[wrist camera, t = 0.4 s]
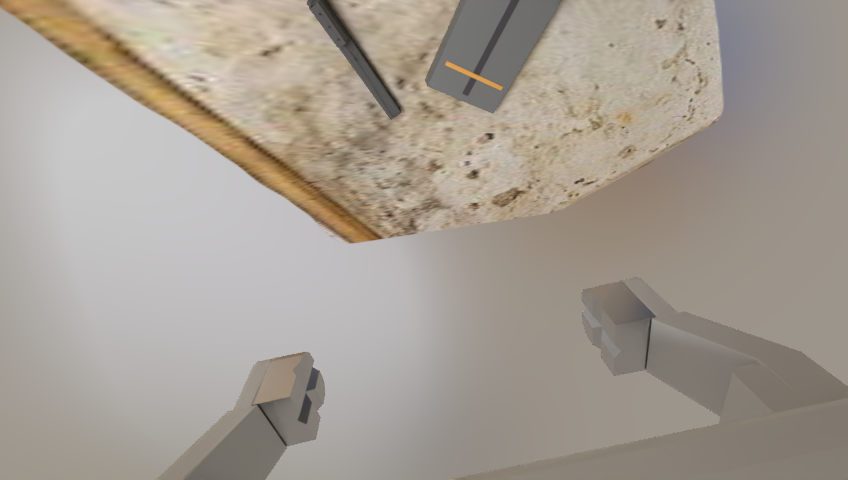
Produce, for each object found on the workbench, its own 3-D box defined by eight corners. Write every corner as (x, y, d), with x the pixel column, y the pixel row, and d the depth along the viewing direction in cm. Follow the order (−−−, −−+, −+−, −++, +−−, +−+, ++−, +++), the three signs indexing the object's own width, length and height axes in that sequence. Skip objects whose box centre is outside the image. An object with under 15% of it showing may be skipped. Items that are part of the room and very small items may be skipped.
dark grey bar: (402, 104, 58) (406, 116, 55) (389, 113, 59) (391, 126, 56) (323, -14, 45) (322, -6, 42) (307, -1, 46) (305, 8, 43)
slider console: (504, -99, 42) (511, -98, 40) (578, -46, 47) (587, -43, 45) (425, 79, 55) (427, 86, 53) (488, 106, 60) (493, 114, 58)
